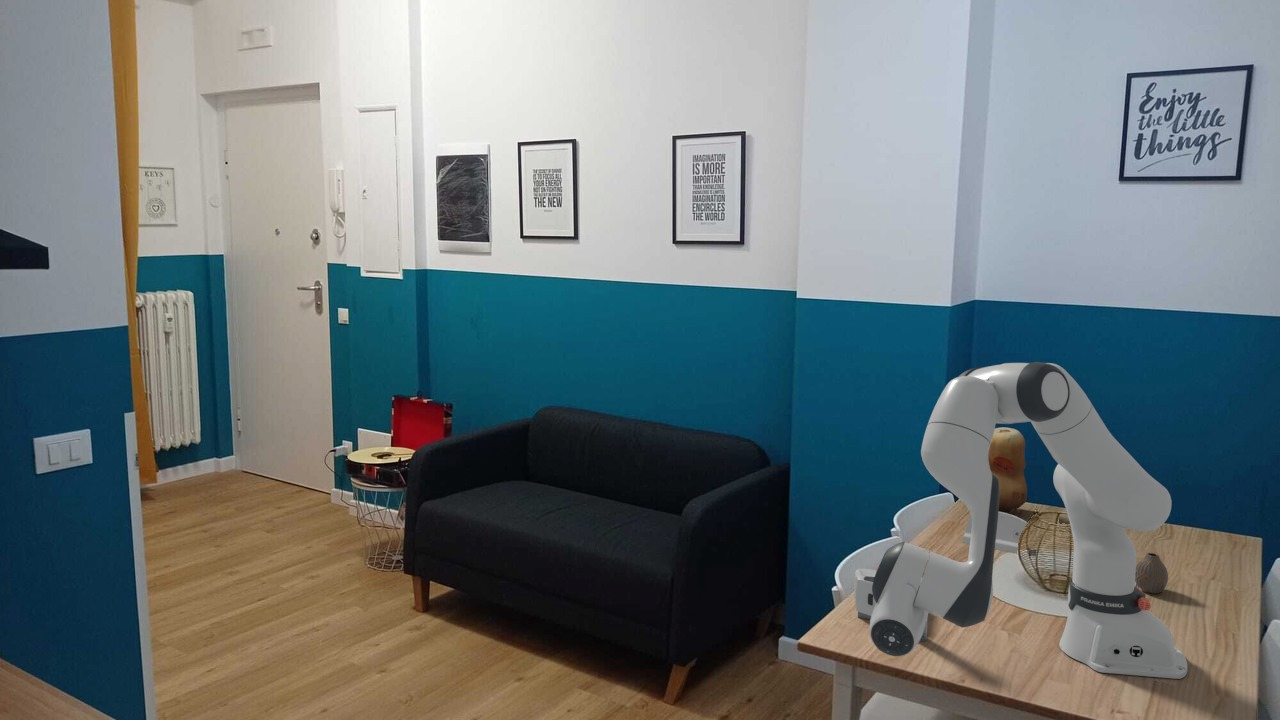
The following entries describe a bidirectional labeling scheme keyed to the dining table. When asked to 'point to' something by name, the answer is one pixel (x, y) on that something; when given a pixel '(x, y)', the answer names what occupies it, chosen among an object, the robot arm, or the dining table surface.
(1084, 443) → the robot arm
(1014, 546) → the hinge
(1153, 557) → the vase
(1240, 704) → the dining table surface
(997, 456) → the butternut squash
